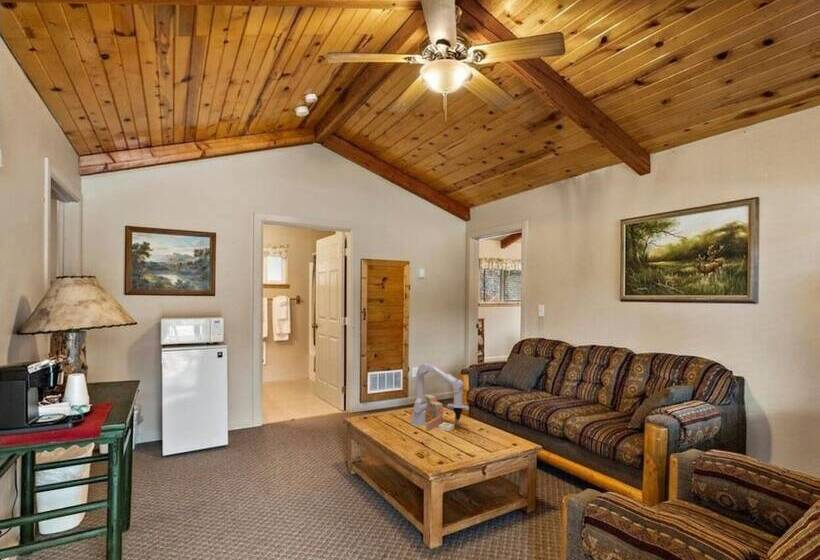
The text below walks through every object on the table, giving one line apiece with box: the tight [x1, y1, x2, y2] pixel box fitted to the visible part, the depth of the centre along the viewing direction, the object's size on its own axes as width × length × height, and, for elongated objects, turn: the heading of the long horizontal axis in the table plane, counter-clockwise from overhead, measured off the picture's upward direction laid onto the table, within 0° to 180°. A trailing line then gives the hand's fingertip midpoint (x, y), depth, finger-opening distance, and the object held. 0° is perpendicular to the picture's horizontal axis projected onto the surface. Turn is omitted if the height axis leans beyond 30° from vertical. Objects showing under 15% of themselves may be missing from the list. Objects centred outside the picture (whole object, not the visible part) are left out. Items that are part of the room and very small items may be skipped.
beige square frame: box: [438, 421, 455, 432], centre depth 289 cm, size 8×8×2 cm
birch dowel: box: [454, 415, 460, 428], centre depth 294 cm, size 2×2×7 cm
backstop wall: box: [426, 415, 443, 432], centre depth 294 cm, size 2×20×5 cm, turn 150°
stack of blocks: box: [424, 393, 444, 418], centre depth 328 cm, size 21×6×12 cm, turn 26°
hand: (458, 419), depth 285 cm, fingers closed
